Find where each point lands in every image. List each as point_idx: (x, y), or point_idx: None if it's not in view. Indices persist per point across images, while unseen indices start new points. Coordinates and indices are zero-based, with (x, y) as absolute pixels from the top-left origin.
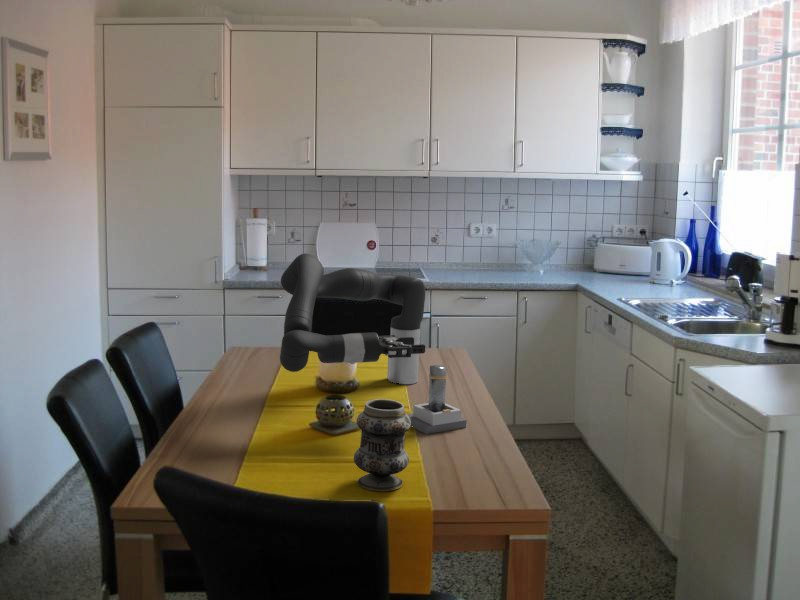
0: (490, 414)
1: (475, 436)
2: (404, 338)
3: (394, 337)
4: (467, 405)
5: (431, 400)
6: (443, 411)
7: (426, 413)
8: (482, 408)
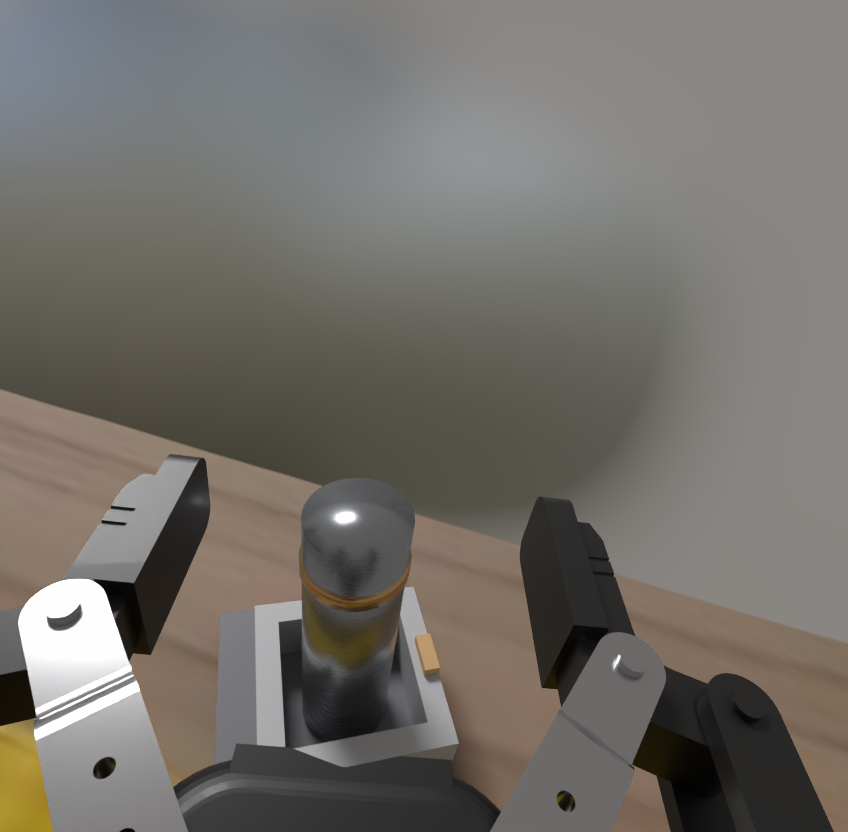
0: (285, 482)
1: (504, 626)
2: (155, 545)
3: (139, 695)
4: None
5: (366, 685)
6: (432, 671)
7: None
8: (214, 474)
